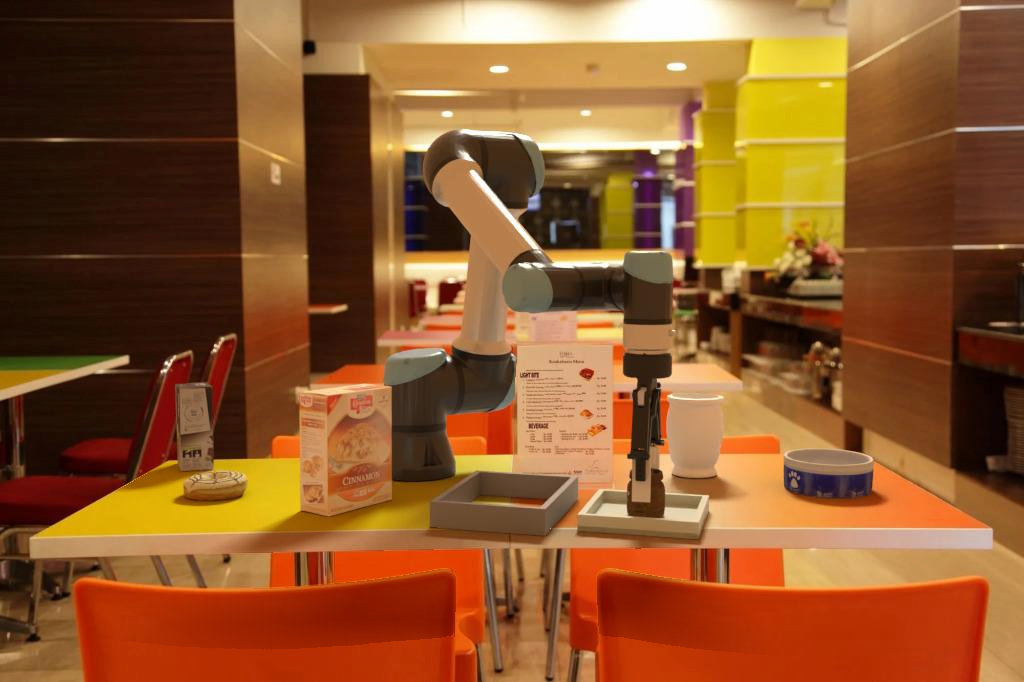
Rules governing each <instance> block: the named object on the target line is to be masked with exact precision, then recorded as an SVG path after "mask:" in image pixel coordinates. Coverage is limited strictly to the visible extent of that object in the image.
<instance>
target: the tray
mask: <svg viewBox="0 0 1024 682" xmlns="http://www.w3.org/2000/svg"><path fill="white" fill-rule="evenodd" d="M709 510H710V495H708V494H690V493H678V492H677V493H676V492H675V493H673V492H665V511H664V515H663V516H662V517H660V518H649V517H634V516H629V515H628V513H627V489H625V490H622V489H608V488H607V489H606V488H605V489H603V488H599V489H598V490H597V491H596V492H595V493H594V494H593V495H592V497H591V498H590V499H589V500H588V501H587V503H586V504H585V505H584V506H583V507H582V509H581V510H580V511H579V512H578V514H577V523H576V525H577V527H576V528H577V530H576V531H577V532H587V533H588V532H589V533H600V534H601V533H603V534H604V533H605V534H618V535H633V536H647V537H659V538H661V537H662V538H676V539H688V540H700V537H701V534H702V531H703V529H702V528H704V526H703V525H705V523H706V520H707V516H708V514H709V512H708V511H709ZM704 522H705V523H704Z"/></svg>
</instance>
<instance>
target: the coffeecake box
mask: <svg viewBox="0 0 1024 682" xmlns="http://www.w3.org/2000/svg"><path fill="white" fill-rule="evenodd" d="M298 396H299V397H298V398H299V400H298V401H299V405H298V406H299V410H298V411H299V414H298V415H299V484H300V485H299V489H300V490H299V491H300V492H299V494H300V496H299V498H300V499H299V501H300V503H299V504H300V511H301V512H302V511H303V512H308V513H311V514H315V515H320V516H324V517H333V516H336V515H339V514H340V515H341V514H343V513H346V512H351V511H355V510H358V509H363V508H366V507H370V506H375V505H377V504H381V503H384V502H388V501H389V502H390V501H392V500H393V480H392V387H390V386H384V384H373V383H372V384H371V383H361V384H353V385H343V386H338V387H337V386H336V387H327V388H322V389H313V390H306V391H299V392H298Z"/></svg>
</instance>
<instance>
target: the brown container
mask: <svg viewBox="0 0 1024 682" xmlns="http://www.w3.org/2000/svg"><path fill="white" fill-rule="evenodd" d="M654 445H655V444H654ZM655 446H656V445H655ZM656 447H658V448H659V447H660V446H658V445H657V446H656ZM650 448H651V447H650ZM641 450H643V449H641ZM650 452H651V449H650ZM660 454H661V449H659V456H660ZM655 458H656V455H655ZM655 458H654V461H655ZM658 462H659V460H658ZM654 464H655V463H654ZM657 465H658V464H657ZM653 466H654V465H653ZM656 467H657V466H656ZM663 474H664V473H663V470H661V469H660V468H659V469H655V468H654V467H653V468H651V491H650V503H649V502H633V501H632V469H630V470H629V475H628V477H629V479H630V480H629V482H628V483H627V485H626V486H627V487H626V491H627V513H628V515H629V516H634V517H649V518H660V517H662V516H663V515H664V511H665V493H666V486H665V483H664V482H663V481H662V480H663V479H664V475H663Z"/></svg>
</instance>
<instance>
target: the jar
mask: <svg viewBox="0 0 1024 682" xmlns="http://www.w3.org/2000/svg"><path fill="white" fill-rule="evenodd" d="M724 398H725V397H724V396H723V395H719V394H715V393H714V394H713V393H707V392H706V393H705V392H679V393H678V392H676V393H671V394H668V395H666V400H667V403H669V405H668V406H669V407H668V410H667V416H666V425H665V428H666V430H665V431H666V432H665V433H666V437H667V438H666V440H667V444H668V454H669V456H670V458H671V462H672V464H673V468H671V471H670V472H671V474H673V475H674V476H677V477H679V478H685V479H686V478H687V479H707V478H713V477H715V476H717V475H718V471H717V469H716V468H715V465H716V464H717V462H718V461H719V457H720V454H721V449H722V448H721V447H722V443H723V439H724V438H723V437H724V424H725V423H724V415H723V410H722V407H721V406H722V404H723V403H724V401H725V400H724Z"/></svg>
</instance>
